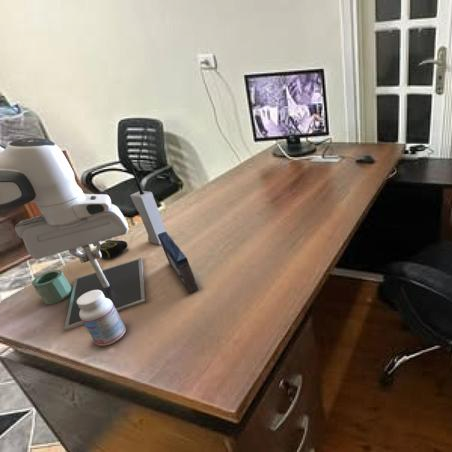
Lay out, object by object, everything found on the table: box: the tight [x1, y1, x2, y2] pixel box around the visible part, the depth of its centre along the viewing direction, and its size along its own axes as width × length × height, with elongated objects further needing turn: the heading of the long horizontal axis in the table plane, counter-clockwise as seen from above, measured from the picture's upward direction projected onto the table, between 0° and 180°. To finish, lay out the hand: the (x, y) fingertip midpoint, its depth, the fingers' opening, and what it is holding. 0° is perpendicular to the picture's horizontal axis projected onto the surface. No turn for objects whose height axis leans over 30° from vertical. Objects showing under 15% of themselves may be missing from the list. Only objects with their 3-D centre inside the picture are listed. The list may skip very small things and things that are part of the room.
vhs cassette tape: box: [158, 231, 199, 294], centre depth 92 cm, size 18×3×10 cm, turn 36°
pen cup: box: [31, 269, 73, 305], centre depth 90 cm, size 6×6×6 cm
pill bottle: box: [77, 290, 127, 347], centre depth 74 cm, size 6×6×11 cm
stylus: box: [81, 244, 109, 288], centre depth 87 cm, size 1×1×13 cm
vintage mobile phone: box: [130, 167, 167, 246], centre depth 106 cm, size 4×5×25 cm
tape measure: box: [100, 239, 129, 259], centre depth 107 cm, size 7×7×4 cm
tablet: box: [63, 257, 147, 332], centre depth 91 cm, size 17×22×1 cm
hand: (92, 259), depth 86 cm, fingers closed on stylus, 1 cm apart
